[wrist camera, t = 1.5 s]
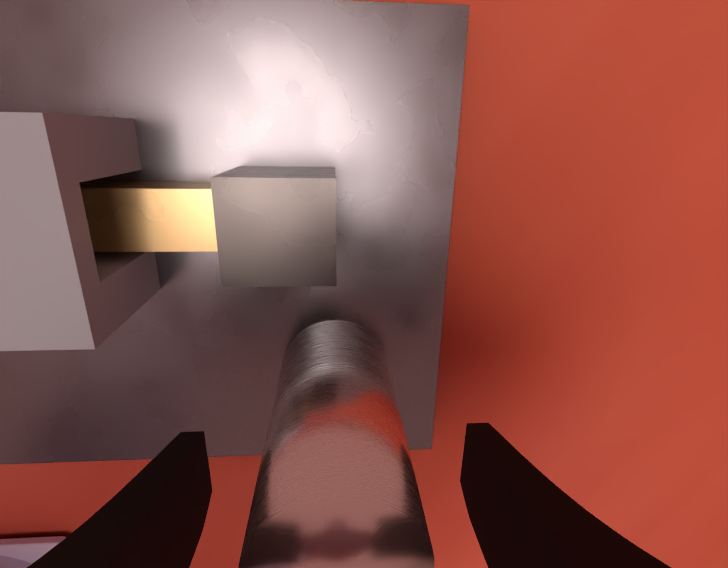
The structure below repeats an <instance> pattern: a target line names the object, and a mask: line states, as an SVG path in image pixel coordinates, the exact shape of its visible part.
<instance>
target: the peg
mask: <svg viewBox="0 0 728 568" xmlns="http://www.w3.org/2000/svg"><path fill="white" fill-rule="evenodd" d="M239 568H434V555H433V549H432V545H431V541H430V537H429V533H428V528H427V524H426V520H425V516H424V512H423V507H422V503H421V499H420V495H419V491H418V486H417V482H416V478H415V474H414V470H413V465H412V461H411V457H410V453H409V449H408V444H407V440H406V436H405V432H404V428H403V423H402V419H401V415H400V411H399V407H398V402H397V398H396V394H395V390H394V386H393V381H392V377H391V373H390V369H389V365H388V360H387V356H386V353H385V350H384V348H383V346H382V344H381V342H380V341H379V340H378V338H377V337H376V336H375V335H374V334H373V333H372V332H370V331H369V330H368V329H366V328H365V327H363V326H361V325H358V324H356V323H353V322H350V321H344V320H327V321H322V322H318V323H315V324H313V325H311V326H309V327H307V328H305V329H303V330H302V331H301V332H299V333H298V334H297V335H296V336H295V337H294V338H293V339H292V340H291V342H290V343H289V345H288V347H287V348H286V350H285V353H284V356H283V361H282V365H281V370H280V375H279V379H278V384H277V389H276V393H275V398H274V403H273V407H272V412H271V417H270V421H269V426H268V431H267V436H266V440H265V445H264V450H263V454H262V459H261V464H260V468H259V473H258V478H257V482H256V487H255V492H254V496H253V501H252V506H251V510H250V515H249V520H248V524H247V529H246V534H245V538H244V543H243V548H242V552H241V557H240V562H239Z"/></svg>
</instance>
